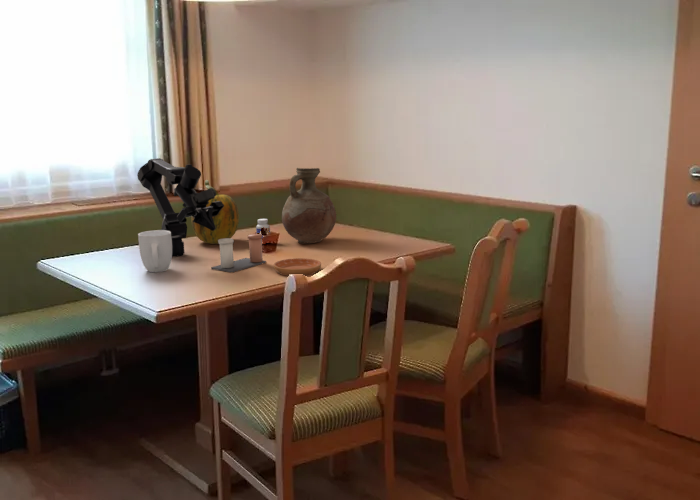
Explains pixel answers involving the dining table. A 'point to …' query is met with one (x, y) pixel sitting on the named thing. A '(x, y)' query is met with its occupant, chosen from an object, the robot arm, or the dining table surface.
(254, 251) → the pink lidded jar
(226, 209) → the pumpkin
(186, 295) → the dining table surface
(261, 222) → the pill bottle
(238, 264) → the mat
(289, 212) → the jug
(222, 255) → the white lidded cylinder
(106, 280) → the dining table surface
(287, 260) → the saucer
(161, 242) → the mug
